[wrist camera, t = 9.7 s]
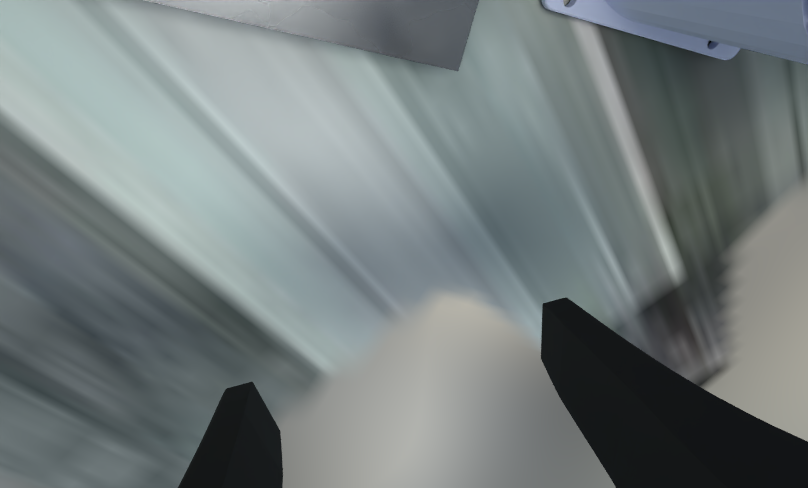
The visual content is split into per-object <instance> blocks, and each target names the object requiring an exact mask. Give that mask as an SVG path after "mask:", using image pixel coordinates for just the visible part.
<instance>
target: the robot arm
mask: <svg viewBox="0 0 808 488" xmlns="http://www.w3.org/2000/svg"><path fill="white" fill-rule="evenodd" d="M542 4H543V6H544V7H545V8H546V9H548V10H551V11H555V12H558V13H562V14H565V15H569V16H572V17H575V18H579V19H582V20H586V21H589V22H593V23H596V24H600V25H603V26H607V27H610V28H614V29H617V30H621V31H624V32H628V33H631V34H635V35H638V36H641V37H645V38H648V39H652V40H655V41H659V42H662V43H666V44H669V45H673V46H676V47H680V48H683V49H687V50H690V51H694V52H697V53H701V54H704V55H708V56H711V57H714V58H718V59H721V60H729V59H731V58H733V57H734V56H735V55H736V54H737V53H738V52H739V50H740V48H742V49H747V50H751V51H755V52H759V53H763V54H767V55H771V56H775V57H779V58H783V59H787V60H791V61H795V62H799V63H803V64H807V65H808V0H571V1H570V2H569V4H567V5H566V6H564V3H563V0H542ZM709 40H710V41H711V43H710V44H709V46H707V44H708V41H709ZM541 359H542V362H543V363H544V366H545V368H546V370H547V372H548V374H549V376H550V379H551V381H552V383H553V385H554V386H555V389H556V391H557V392H558V395H559V397H560V398H561V400H562V402H563V403H564V405H565V406H566V408H567V410H568V411H569V413H570V414H571V416H572V418H573V419H574V421H575V422H576V424H577V426H578V427H579V429H580V430H581V432H582V433H583V435H584V437H585V438H586V440H587V441H588V443H589V445H590V446H591V448H592V449H593V451H594V452H595V454H596V456H597V457H598V459H599V460H600V462H601V464H602V465H603V467H604V468H605V470H606V471H607V473H608V475H609V476H610V478H611V479H612V481H613V483H614V485H615V486H616V488H808V442H807V441H805V440H803V439H801V438H798V437H796V436H794V435H792V434H790V433H788V432H785V431H783V430H781V429H779V428H776V427H774V426H772V425H770V424H768V423H766V422H764V421H762V420H760V419H758V418H756V417H754V416H752V415H750V414H748V413H746V412H744V411H743V410H741V409H739V408H737V407H735V406H733V405H731V404H729V403H728V402H726V401H724V400H722V399H720V398H718V397H716V396H715V395H713V394H711V393H709V392H708V391H706V390H704V389H702V388H701V387H699V386H697V385H696V384H694V383H692V382H690V381H689V380H687V379H686V378H684V377H682V376H681V375H679V374H677V373H676V372H674V371H672V370H671V369H669V368H668V367H666V366H664V365H663V364H661V363H660V362H658V361H657V360H655V359H654V358H652V357H651V356H649V355H648V354H646V353H645V352H643V351H642V350H640V349H639V348H637V347H636V346H634V345H633V344H631V343H630V342H628V341H627V340H625V339H624V338H622V337H621V336H619V335H618V334H617V333H615V332H614V331H612V330H611V329H610V328H608V327H607V326H605V325H604V324H603V323H601V322H600V321H598V320H597V319H596V318H594V317H593V316H591V315H590V314H589V313H587V312H586V311H585V310H583V309H582V308H580V307H579V306H578V305H576V304H575V303H574V302H572V301H571V300H569V299H568V298H562V299H558V300H554V301H551V302H547V303H543V311H542V343H541ZM282 482H283V468H282V451H281V437H280V430H279V428H278V426H277V424H276V423H275V421H274V419H273V417H272V416H271V414H270V412H269V410H268V408H267V407H266V405H265V403H264V401H263V400H262V398H261V396H260V394H259V392H258V391H257V389H256V387H255V385H254V383H253V382H249V383H246V384H242V385H238V386H234V387H231V388H227V389H226V390H225V392H224V393H223V396H222V398H221V400H220V402H219V404H218V406H217V409H216V411H215V413H214V415H213V417H212V420H211V422H210V424H209V426H208V428H207V430H206V432H205V434H204V437H203V439H202V441H201V443H200V445H199V447H198V449H197V451H196V453H195V455H194V457H193V459H192V461H191V463H190V465H189V467H188V469H187V471H186V473H185V475H184V477H183V479H182V481H181V483H180V485H179V487H178V488H282Z"/></svg>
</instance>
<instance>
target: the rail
mask: <svg viewBox="0 0 808 488" xmlns="http://www.w3.org/2000/svg"><path fill="white" fill-rule="evenodd" d="M144 1H149V2H153V3H158V4H162V5H166V6H171V7H175V8H180V9H184V10H189V11H193V12H197V13H202V14H206V15H211V16H215V17H220V18H224V19H229V20H233V21H237V22H242V23H246V24H251V25H255V26H260V27H264V28H268V29H273V30H277V31H282V32H286V33H291V34H295V35H299V36H304V37H308V38H313V39H317V40H322V41H326V42H331V43H335V44H339V45H344V46H348V47H353V48H357V49H362V50H366V51H370V52H375V53H379V54H384V55H388V56H393V57H397V58H401V59H406V60H410V61H415V62H419V63H424V64H428V65H433V66H437V67H441V68H446V69H450V70H455V71H458V70H459V67H460V63H461V60H462V56H463V53H464V49H465V46H466V43H467V39H468V36H469V32H470V29H471V26H472V22H473V19H474V15H475V12H476V8H477V5H478V2H479V0H144Z"/></svg>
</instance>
